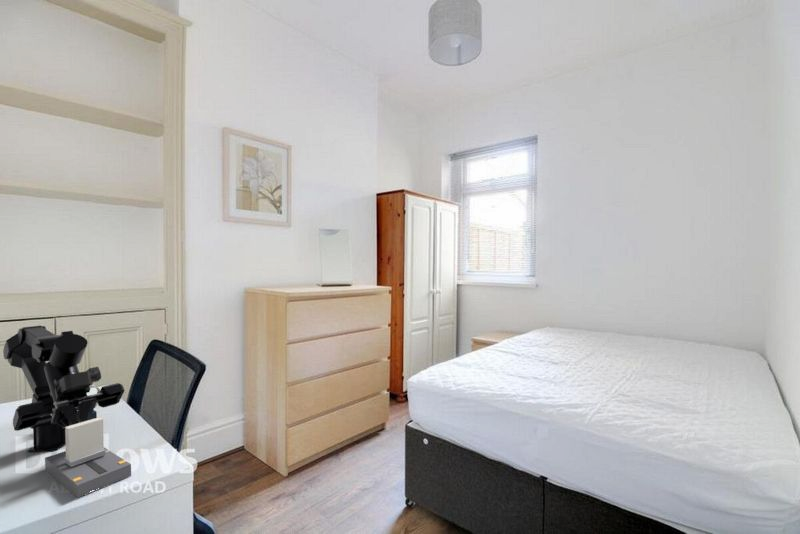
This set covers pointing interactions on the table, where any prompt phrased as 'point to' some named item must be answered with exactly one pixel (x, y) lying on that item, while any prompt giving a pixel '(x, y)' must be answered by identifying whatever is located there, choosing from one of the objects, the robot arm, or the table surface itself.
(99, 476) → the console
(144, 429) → the table surface
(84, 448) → the fader
